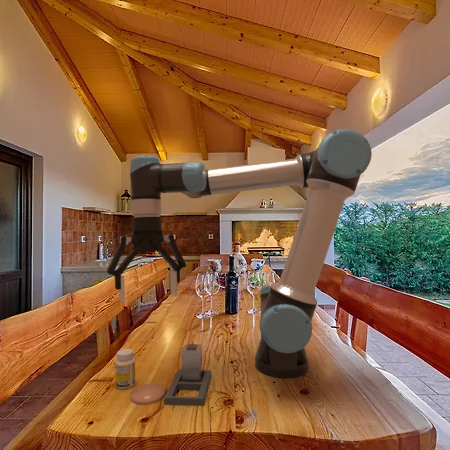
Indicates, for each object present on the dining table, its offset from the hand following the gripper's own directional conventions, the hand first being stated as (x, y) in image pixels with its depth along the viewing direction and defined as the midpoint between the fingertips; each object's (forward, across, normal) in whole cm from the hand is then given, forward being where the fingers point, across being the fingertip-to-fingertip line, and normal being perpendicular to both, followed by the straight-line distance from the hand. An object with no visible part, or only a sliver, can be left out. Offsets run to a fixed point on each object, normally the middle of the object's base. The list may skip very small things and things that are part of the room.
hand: (149, 298), depth 82 cm
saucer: (+22, +3, +5) cm, 23 cm away
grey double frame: (+22, -7, +8) cm, 24 cm away
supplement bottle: (+22, +6, -3) cm, 23 cm away
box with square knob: (+22, -9, +5) cm, 24 cm away
